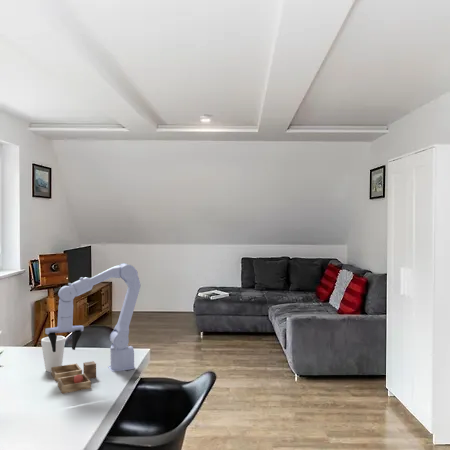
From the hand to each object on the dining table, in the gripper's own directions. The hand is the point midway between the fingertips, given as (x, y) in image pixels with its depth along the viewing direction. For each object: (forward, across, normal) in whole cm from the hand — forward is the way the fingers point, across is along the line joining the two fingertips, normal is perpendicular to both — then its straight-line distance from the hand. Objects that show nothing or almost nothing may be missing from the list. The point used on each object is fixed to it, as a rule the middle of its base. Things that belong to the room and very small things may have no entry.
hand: (63, 350), depth 180 cm
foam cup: (+11, 0, -12) cm, 16 cm away
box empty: (+10, -2, 0) cm, 11 cm away
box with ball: (+10, 0, +15) cm, 18 cm away
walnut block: (+10, -8, +8) cm, 15 cm away
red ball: (+10, -2, +13) cm, 17 cm away
